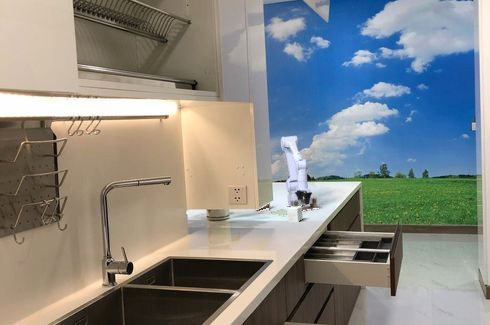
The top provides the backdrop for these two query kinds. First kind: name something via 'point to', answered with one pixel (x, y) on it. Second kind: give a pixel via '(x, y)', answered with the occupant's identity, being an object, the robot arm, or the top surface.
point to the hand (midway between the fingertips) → (304, 203)
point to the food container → (264, 207)
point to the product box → (294, 214)
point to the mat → (280, 212)
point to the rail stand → (313, 205)
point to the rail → (302, 201)
